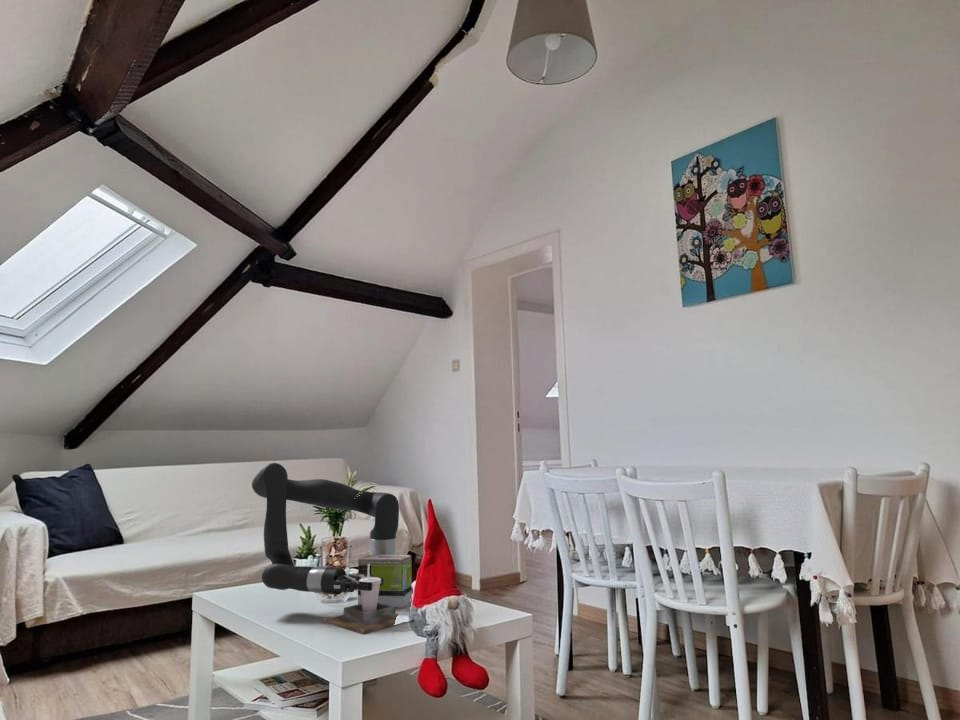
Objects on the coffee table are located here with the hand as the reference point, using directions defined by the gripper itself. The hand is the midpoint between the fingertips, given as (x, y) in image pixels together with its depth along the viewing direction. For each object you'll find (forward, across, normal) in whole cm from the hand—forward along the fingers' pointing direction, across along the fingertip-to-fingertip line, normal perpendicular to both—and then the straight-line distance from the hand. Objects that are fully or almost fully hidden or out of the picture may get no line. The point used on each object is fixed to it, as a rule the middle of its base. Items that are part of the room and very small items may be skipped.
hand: (377, 584), depth 177 cm
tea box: (-7, +20, +11) cm, 24 cm away
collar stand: (-2, 0, +10) cm, 11 cm away
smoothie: (-2, 0, +9) cm, 9 cm away
